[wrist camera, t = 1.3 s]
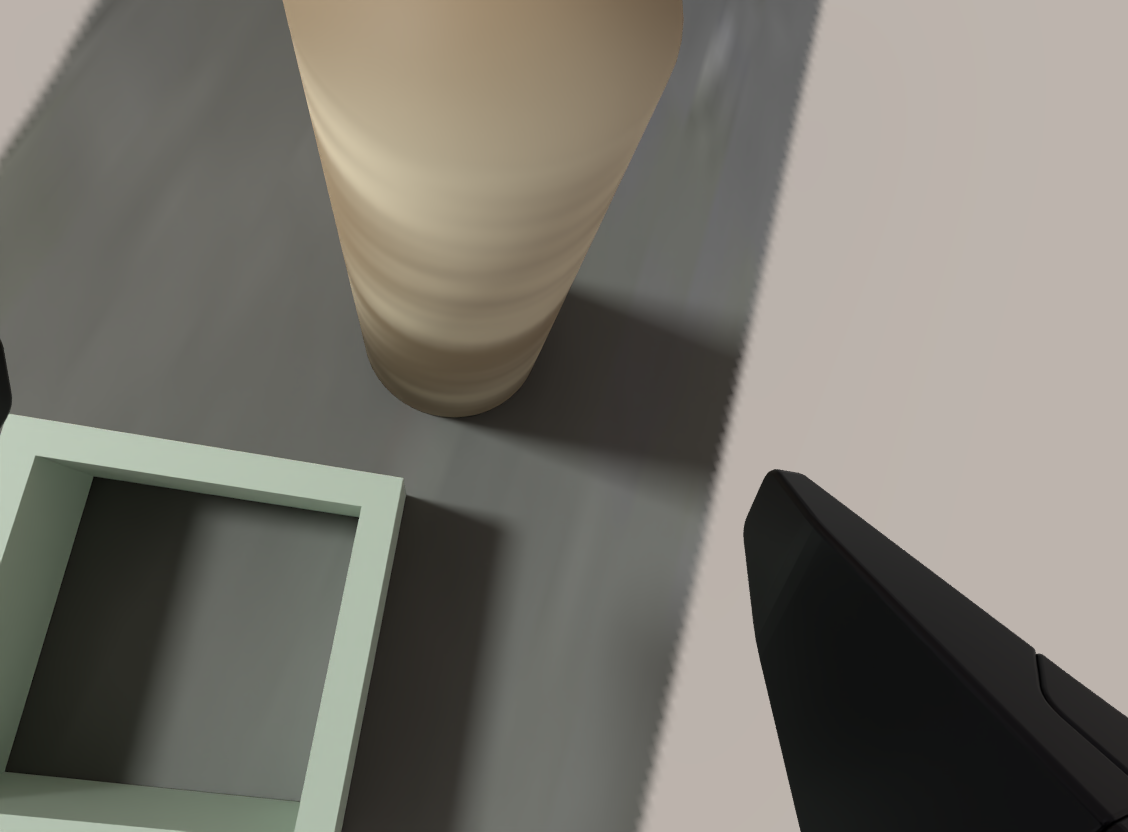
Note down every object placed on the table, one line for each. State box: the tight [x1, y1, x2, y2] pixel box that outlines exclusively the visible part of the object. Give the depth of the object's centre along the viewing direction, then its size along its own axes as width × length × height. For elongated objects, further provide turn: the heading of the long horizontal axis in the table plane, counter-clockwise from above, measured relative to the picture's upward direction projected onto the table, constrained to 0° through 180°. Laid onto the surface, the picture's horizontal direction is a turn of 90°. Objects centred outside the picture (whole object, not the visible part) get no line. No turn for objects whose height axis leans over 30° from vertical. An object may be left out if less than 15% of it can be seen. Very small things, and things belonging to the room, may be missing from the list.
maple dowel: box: [283, 0, 683, 417], centre depth 16 cm, size 5×5×13 cm
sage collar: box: [0, 414, 406, 832], centre depth 17 cm, size 9×9×3 cm
